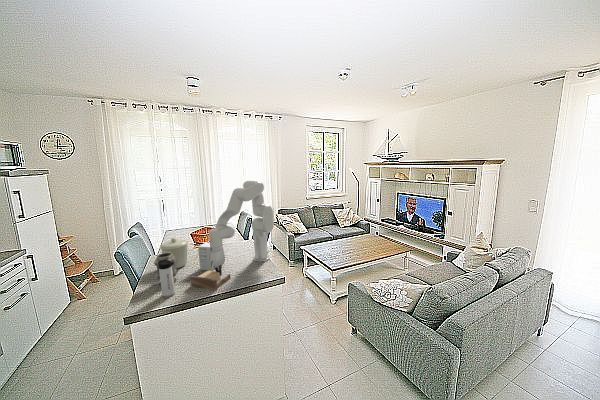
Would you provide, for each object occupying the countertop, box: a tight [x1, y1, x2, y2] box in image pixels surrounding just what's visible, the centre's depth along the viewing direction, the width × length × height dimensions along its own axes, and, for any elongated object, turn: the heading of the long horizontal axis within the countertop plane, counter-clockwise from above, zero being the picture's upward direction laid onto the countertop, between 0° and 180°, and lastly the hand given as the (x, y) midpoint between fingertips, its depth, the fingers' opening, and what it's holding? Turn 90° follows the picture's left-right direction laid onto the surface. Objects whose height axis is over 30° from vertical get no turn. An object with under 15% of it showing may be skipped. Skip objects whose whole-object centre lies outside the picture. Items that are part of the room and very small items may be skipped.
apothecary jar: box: [153, 252, 179, 287], centre depth 148 cm, size 12×12×18 cm
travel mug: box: [158, 260, 176, 299], centre depth 133 cm, size 6×7×20 cm
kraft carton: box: [197, 270, 221, 282], centre depth 148 cm, size 10×9×5 cm
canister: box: [159, 237, 189, 270], centre depth 171 cm, size 18×18×21 cm
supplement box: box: [197, 241, 213, 271], centre depth 168 cm, size 10×9×17 cm
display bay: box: [189, 273, 231, 292], centre depth 147 cm, size 16×18×6 cm
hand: (218, 275), depth 154 cm, fingers closed
